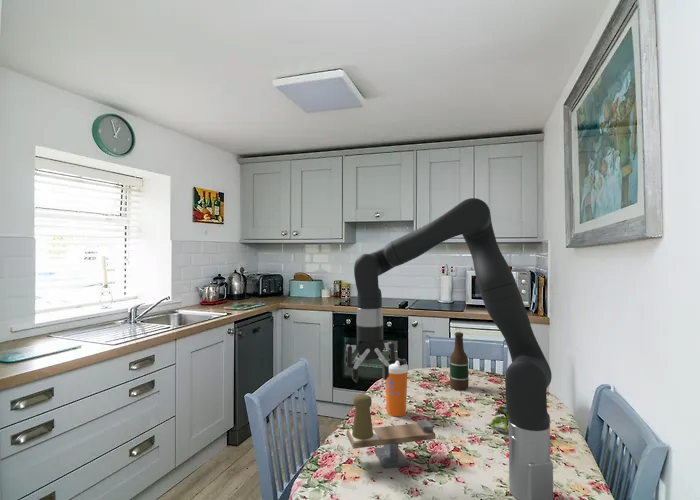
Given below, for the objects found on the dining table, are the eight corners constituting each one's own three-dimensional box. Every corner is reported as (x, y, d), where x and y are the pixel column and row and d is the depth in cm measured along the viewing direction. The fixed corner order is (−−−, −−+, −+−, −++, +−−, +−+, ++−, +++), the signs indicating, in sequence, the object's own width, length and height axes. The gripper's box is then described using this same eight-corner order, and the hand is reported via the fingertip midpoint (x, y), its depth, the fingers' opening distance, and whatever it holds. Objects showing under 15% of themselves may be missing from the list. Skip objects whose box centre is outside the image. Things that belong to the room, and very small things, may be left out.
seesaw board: (424, 427, 122) (424, 417, 123) (435, 439, 115) (435, 428, 115) (347, 435, 117) (346, 425, 117) (353, 448, 109) (353, 437, 109)
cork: (371, 440, 111) (371, 399, 111) (350, 438, 112) (349, 398, 112) (374, 430, 117) (374, 392, 117) (354, 428, 118) (354, 391, 118)
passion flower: (516, 444, 136) (539, 417, 134) (512, 452, 126) (536, 423, 125) (488, 418, 141) (509, 392, 140) (482, 424, 132) (505, 396, 130)
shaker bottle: (392, 406, 155) (392, 354, 155) (413, 412, 149) (412, 358, 150) (379, 413, 148) (379, 359, 148) (400, 419, 143) (399, 363, 143)
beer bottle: (449, 389, 174) (449, 334, 174) (450, 384, 181) (450, 330, 181) (468, 391, 171) (468, 335, 172) (468, 385, 179) (468, 331, 179)
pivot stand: (408, 465, 112) (408, 445, 112) (384, 468, 110) (384, 448, 110) (396, 448, 122) (396, 430, 122) (374, 451, 120) (374, 432, 120)
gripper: (348, 327, 110) (349, 386, 110) (397, 324, 114) (398, 382, 113) (342, 322, 118) (343, 378, 117) (389, 320, 121) (389, 374, 121)
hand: (370, 380), depth 115 cm, fingers open, 8 cm apart
